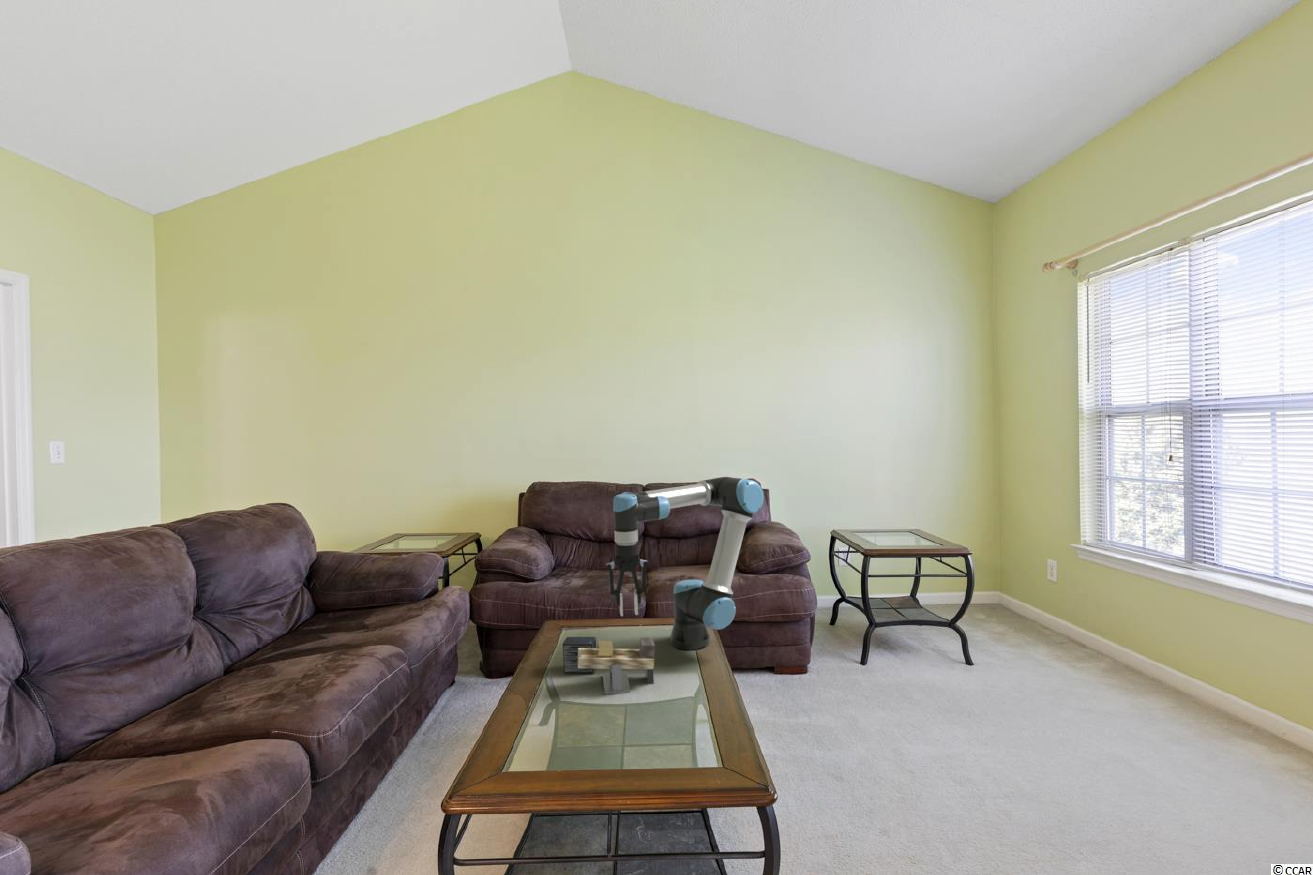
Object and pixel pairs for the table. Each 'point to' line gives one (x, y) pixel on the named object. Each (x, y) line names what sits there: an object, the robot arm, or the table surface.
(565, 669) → the small box
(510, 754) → the table surface
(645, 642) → the beam
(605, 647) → the block
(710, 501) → the robot arm
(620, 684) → the fulcrum
